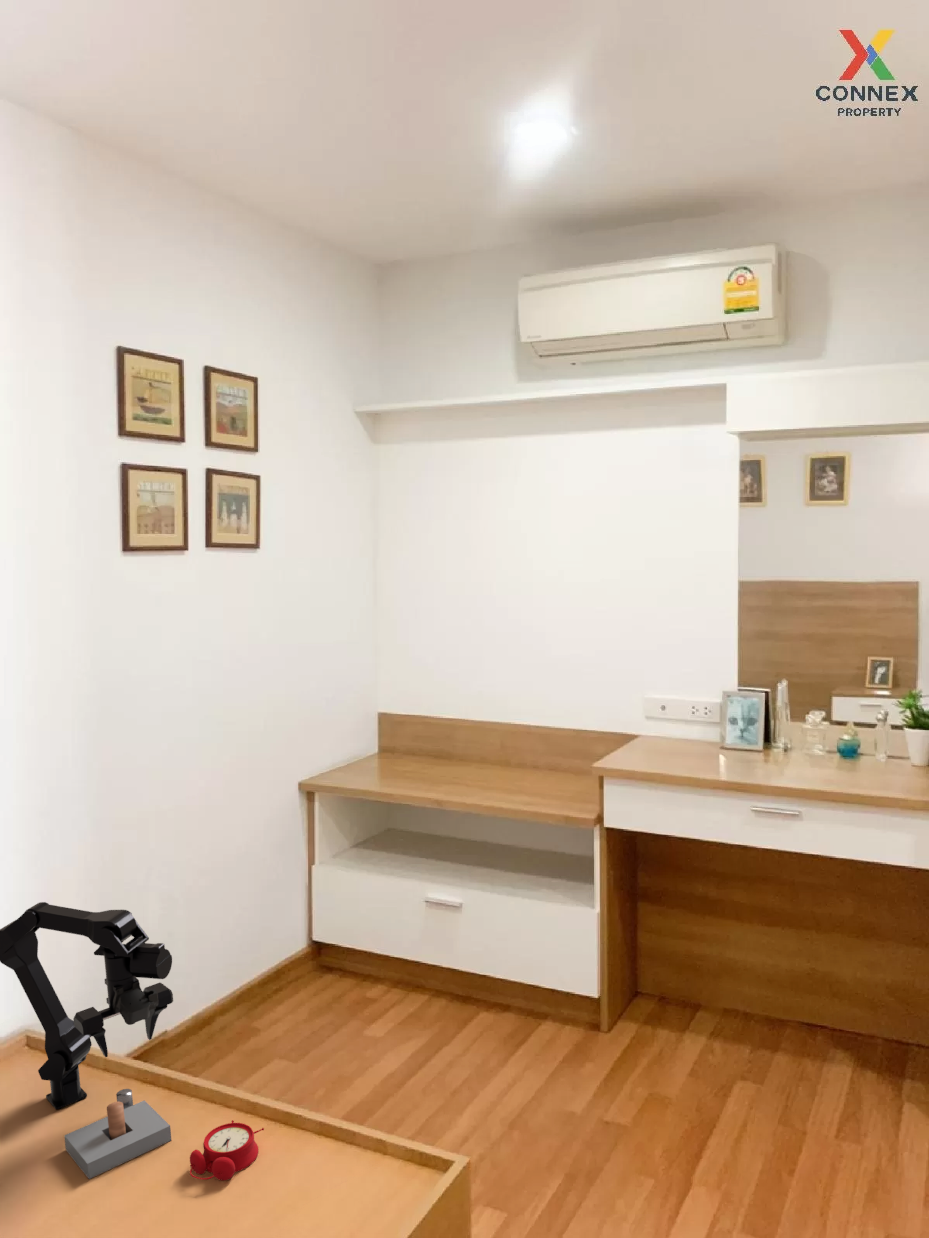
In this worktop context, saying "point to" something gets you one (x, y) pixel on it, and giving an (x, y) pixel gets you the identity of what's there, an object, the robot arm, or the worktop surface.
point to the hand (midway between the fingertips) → (128, 1047)
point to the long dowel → (116, 1120)
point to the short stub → (125, 1097)
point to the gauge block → (117, 1140)
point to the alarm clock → (225, 1151)
